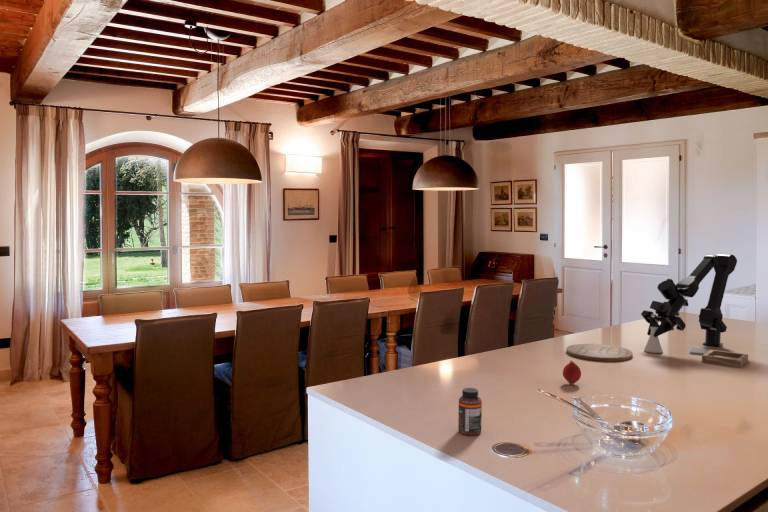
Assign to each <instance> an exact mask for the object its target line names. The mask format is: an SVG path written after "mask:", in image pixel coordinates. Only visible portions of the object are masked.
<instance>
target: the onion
mask: <svg viewBox="0 0 768 512" xmlns="http://www.w3.org/2000/svg"><path fill="white" fill-rule="evenodd" d="M562 377H563V379H565V380H566V381H567V383H569V385H574V384H575V383H577V382H579V380H580V379H581V377H582V370H581V368H580V367H579V366H578V364H576V363H575V362H574V361H573V359H571V360H570V359H569V363H567V364H565V366H564V367H563V370H562Z"/></svg>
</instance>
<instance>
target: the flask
mask: <svg viewBox="0 0 768 512" xmlns="http://www.w3.org/2000/svg"><path fill="white" fill-rule="evenodd" d="M650 329H651V333H650V335H649V337H648V340H647V342H646V345H645V347H644V349H643V351H644V352H647V353H652V354H653V353H654V354H662V353H663V349H662V345H661V342H660V339H659V336H657V337H654V333H655V332H656V330H657V329H658V327H650Z"/></svg>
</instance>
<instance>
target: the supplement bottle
mask: <svg viewBox="0 0 768 512" xmlns="http://www.w3.org/2000/svg"><path fill="white" fill-rule="evenodd" d="M482 403H483V402H482V398H481V397H480V396H479V389H477V388H475V387H464V388H463V389H462V394H461V396H460V397H459V398H458V418H457V419H458V421H457V422H458V426H457V428H458V432H459V433H460V434H462V435H464V436H469V437H470V436H478V435H479V434H481V433H482V415H483V413H482V411H483V410H482V409H483V407H482Z"/></svg>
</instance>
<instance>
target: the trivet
mask: <svg viewBox="0 0 768 512" xmlns="http://www.w3.org/2000/svg"><path fill="white" fill-rule="evenodd" d="M566 354H567V355H569V356H571V357H573V358H576V359H580V360H585V361H591V362H603V363H608V362H609V363H615V362H616V363H617V362H625V361H630V360H632V359H633V356H634V353H633V351H632V350H630V349H628V348H625V347H622V346H618V345H612V344H603V343H576V344H571V345H568V346H566Z"/></svg>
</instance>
